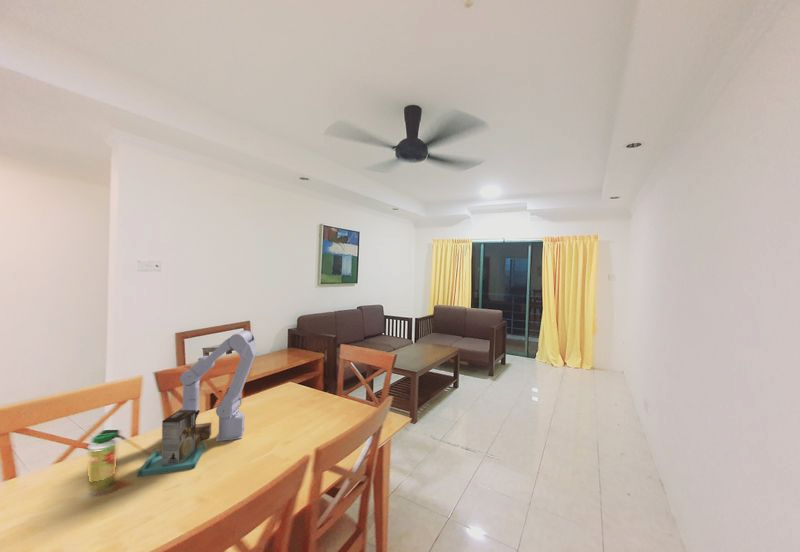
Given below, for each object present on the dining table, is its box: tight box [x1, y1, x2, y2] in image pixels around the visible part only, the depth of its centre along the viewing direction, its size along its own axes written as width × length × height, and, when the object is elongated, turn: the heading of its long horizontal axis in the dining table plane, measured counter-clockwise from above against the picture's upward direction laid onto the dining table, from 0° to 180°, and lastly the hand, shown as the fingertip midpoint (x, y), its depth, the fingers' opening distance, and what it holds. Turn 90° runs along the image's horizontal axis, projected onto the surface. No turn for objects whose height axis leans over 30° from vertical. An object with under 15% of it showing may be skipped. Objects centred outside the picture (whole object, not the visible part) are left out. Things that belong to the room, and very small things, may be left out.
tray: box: [137, 443, 206, 477], centre depth 111 cm, size 16×13×2 cm
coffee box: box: [161, 409, 197, 465], centre depth 112 cm, size 9×6×16 cm
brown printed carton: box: [195, 422, 212, 449], centre depth 122 cm, size 16×10×5 cm, turn 109°
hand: (190, 430), depth 128 cm, fingers closed
